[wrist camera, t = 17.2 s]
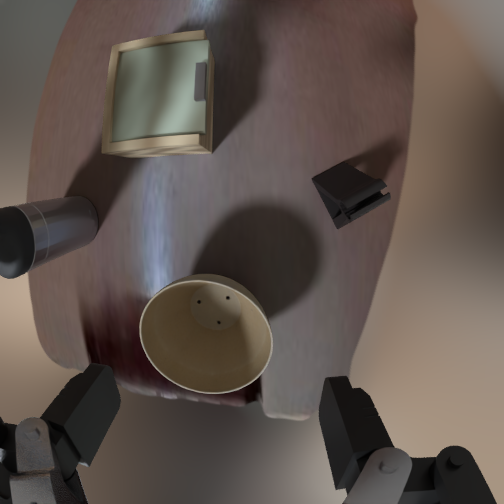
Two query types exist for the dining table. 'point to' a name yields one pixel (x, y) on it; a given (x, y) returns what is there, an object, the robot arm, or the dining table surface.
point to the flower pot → (207, 334)
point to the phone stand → (349, 193)
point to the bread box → (160, 97)
